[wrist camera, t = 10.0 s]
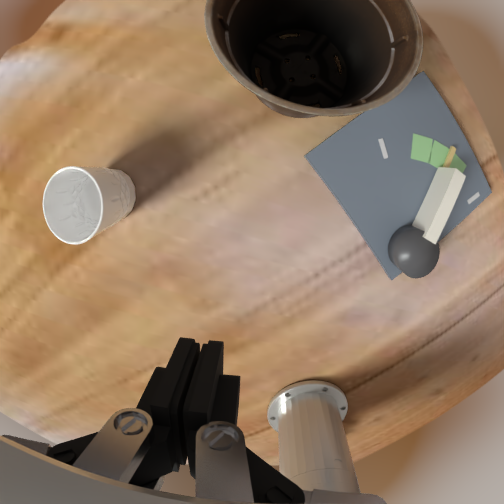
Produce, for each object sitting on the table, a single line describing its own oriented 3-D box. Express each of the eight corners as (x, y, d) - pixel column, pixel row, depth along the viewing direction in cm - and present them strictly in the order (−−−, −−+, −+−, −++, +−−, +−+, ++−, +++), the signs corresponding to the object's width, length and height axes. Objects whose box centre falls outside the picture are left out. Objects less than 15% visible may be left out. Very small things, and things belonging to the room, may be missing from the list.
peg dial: (412, 275, 37) (427, 287, 33) (380, 257, 37) (392, 268, 33) (466, 158, 33) (485, 159, 29) (436, 135, 32) (454, 133, 28)
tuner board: (487, 191, 35) (492, 192, 34) (388, 277, 39) (391, 280, 38) (420, 72, 31) (423, 70, 30) (303, 156, 35) (305, 155, 34)
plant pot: (259, 156, 35) (256, 149, 20) (208, 40, 32) (175, -27, 16) (383, 113, 33) (454, 88, 18) (329, 4, 30) (362, -68, 14)
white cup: (98, 156, 36) (53, 156, 26) (149, 176, 36) (113, 181, 27) (81, 212, 38) (36, 227, 28) (129, 234, 38) (92, 256, 29)
